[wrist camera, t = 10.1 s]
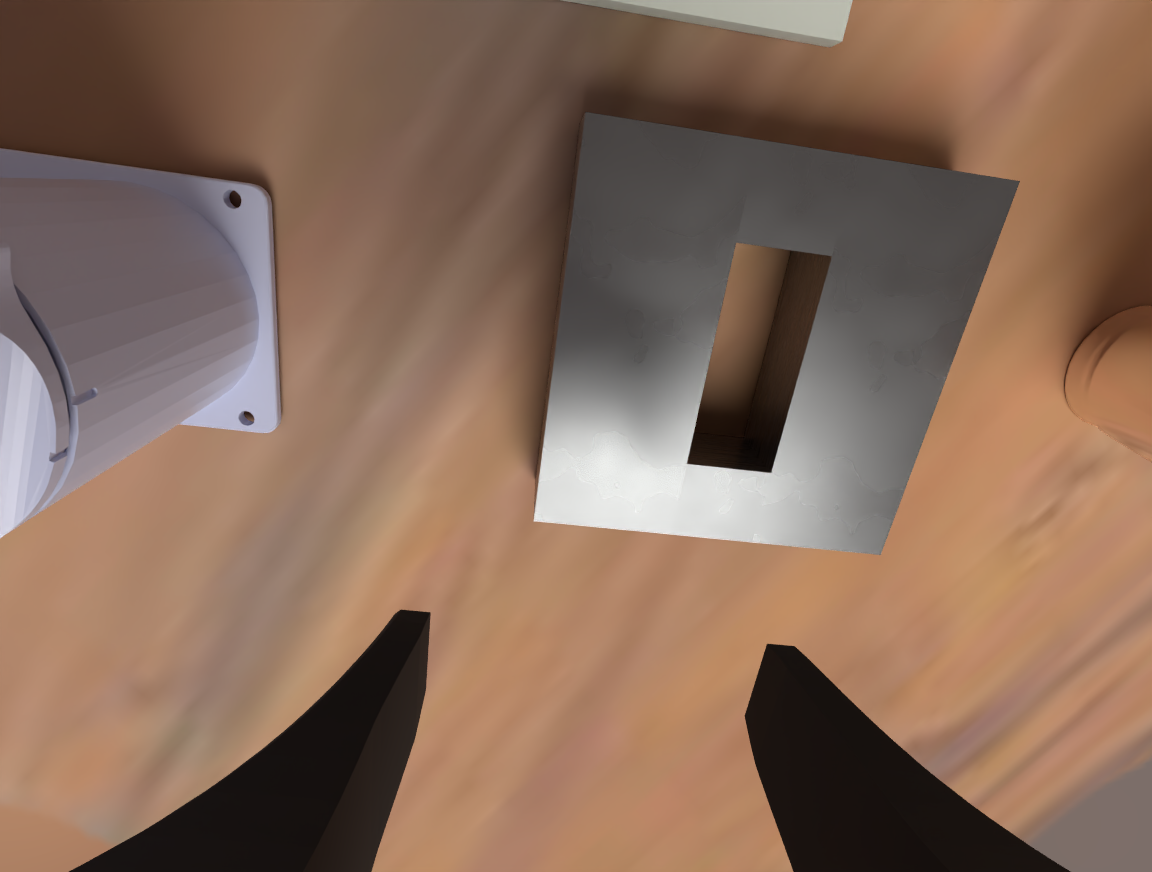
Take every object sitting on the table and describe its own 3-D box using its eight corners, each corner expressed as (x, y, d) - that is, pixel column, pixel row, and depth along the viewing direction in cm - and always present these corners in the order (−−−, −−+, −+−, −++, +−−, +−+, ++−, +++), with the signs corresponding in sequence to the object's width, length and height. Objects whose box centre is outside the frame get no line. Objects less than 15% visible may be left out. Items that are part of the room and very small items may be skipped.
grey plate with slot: (535, 480, 23) (533, 521, 20) (579, 123, 18) (585, 112, 16) (841, 512, 24) (880, 554, 21) (952, 182, 20) (1019, 181, 17)
